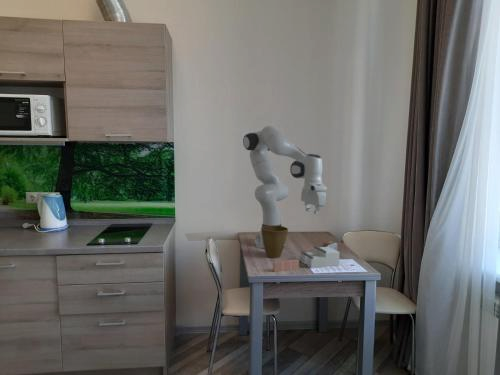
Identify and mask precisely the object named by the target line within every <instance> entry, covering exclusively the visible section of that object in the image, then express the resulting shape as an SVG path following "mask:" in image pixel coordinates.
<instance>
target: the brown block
mask: <svg viewBox="0 0 500 375" xmlns="http://www.w3.org/2000/svg"><path fill="white" fill-rule="evenodd" d="M272 266H273V272H274V273H276V272H277V273H278V272H287V271H296V270H300V260H299V259H292V260H291V259H288V260H280V261H278V260H277V261H274V262H273V265H272Z"/></svg>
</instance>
